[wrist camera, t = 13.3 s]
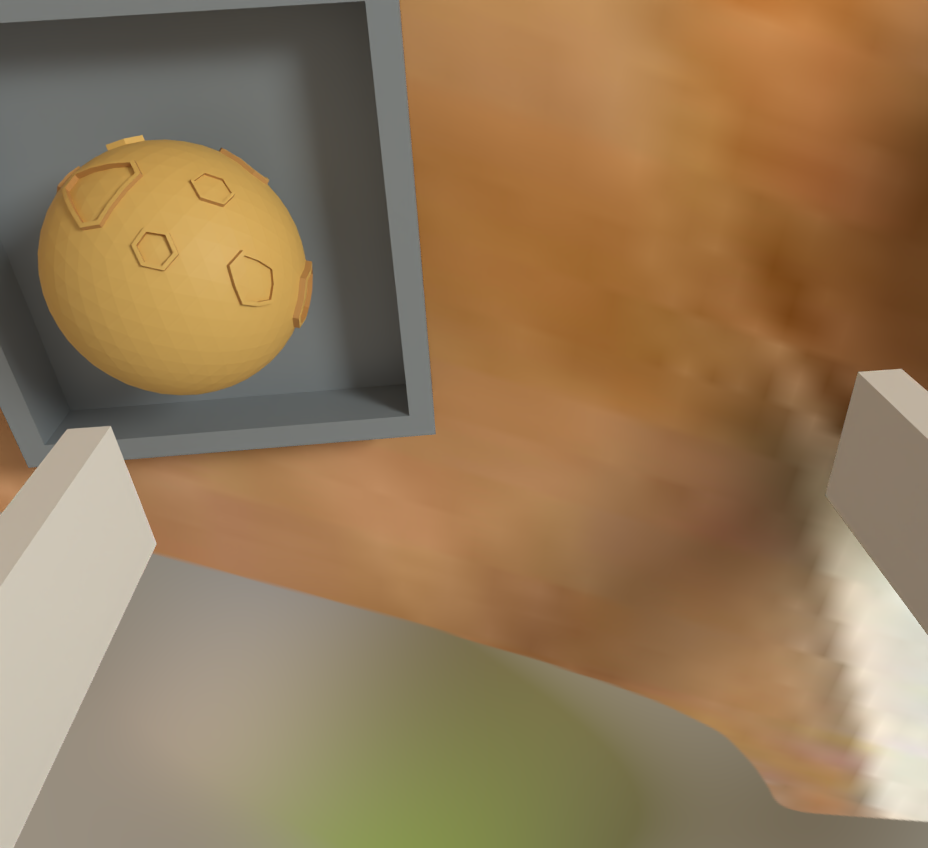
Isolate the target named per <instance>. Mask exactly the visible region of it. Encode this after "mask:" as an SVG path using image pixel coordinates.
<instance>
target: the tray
mask: <svg viewBox="0 0 928 848" xmlns="http://www.w3.org/2000/svg"><path fill="white" fill-rule="evenodd" d="M140 135H143V138H144V140H164V139H166V140H176V141H185V142H190V143H195V144H199V145H203V146H206V147H209V148H211V149H214V150H217V151H219V150H220V149H221V148H223V149H226V150H227V151H229V152H231V153H232V154H234V155H236V156H237V157H239V158H241V159H242V160H243V161H244V162H246V163H247V164H248V165H249V166H251V167H252V168H253V169H254V170H256V171H257V172H258V173H260V174H261V175H263V176H264V177H267V178H268V179H269V182H268V185H269V186H270V188H271V189H272V190H273V191H274V192H275V193H276V195H277V196H278V197H279V198H280V200H281V201H282V203H283V204H284V205H285V207H286V208H287V210H288V212H289V213H290V215H291V217H292V219H293V221H294V223H295V225H296V227H297V230H298V233H299V236H300V238H301V241H302V245H303V249H304V254H305V259H306V260H307V261H312V269H313V284H312V295H311V300H310V306H309V310H308V313H307V317H306V320H305V321H304V323H303V324H302V326H301V327H300V328H296V327H295V329H294V331H293V334H292V335H291V337H290V338H289V340H288V341H287V343H286V344H285V346H284V347H283V349H282V350H281V351H280V352H279V353H278V354H277V356H276V357H275V358H274V359H273V360H272V361H271V362H270V363H269V364H267V365H266V366H265V367H264V368H262V369H261V370H260V371H259V372H257V373H256V374H254V375H253V376H251V377H249V378H248V379H246V380H244V381H242V382H240V383H238V384H236V385H233V386H231V387H228V388H225V389H221V390H218V391H215V392H209V393H204V394H198V395H169V394H160V393H156V392H151V391H146V390H143V389H140V388H137V387H134V386H130V385H127V384H125V383H123V382H121V381H119V380H118V379H116V378H114V377H112V376H110V375H108V374H106V373H105V372H103V371H102V370H100V369H99V368H97V367H96V366H94V365H93V364H92V363H90V362H89V361H88V360H87V359H86V358H85V357H84V356H82V355H81V354H80V353H79V352H78V351H77V350H76V349H75V348H74V347H73V345H72V344H71V343H70V342H69V341H68V340H67V339H66V337H65V336H64V334H63V333H62V331H61V330H60V329H59V327H58V325H57V324H56V322H55V320H54V318H53V316H52V315H51V313H50V311H49V308H48V306H47V303H46V301H45V298H44V295H43V292H42V287H41V283H40V278H39V271H38V246H39V239H40V231H41V228H42V225H43V222H44V219H45V216H46V213H47V210H48V208H49V206H50V205H51V203H52V201H53V199H54V197H55V195H56V194H57V193H56V192H57V186H58V185H59V183H60V182H61V181H62V180H63V179H64V178H65V176H66V175H67V174H68V173H69V172H71V171H72V170H74V169H75V168H77V167H78V166H79V167H81V166H83V165H84V164H86V163H87V162H89V161H90V160H92V159H93V158H95V157H97V156H99V155H100V154H102V153H104V152H106V151H108V150H107V148H106V145H107V144H110V143H113V142H115V141H118V140H121V139H124V138H130V137H135V136H140ZM0 407H1V410H2V412H3V414H4V416H5V418H6V420H7V422H8V425H9V427H10V429H11V431H12V433H13V435H14V437H15V440H16V442H17V444H18V446H19V448H20V450H21V452H22V455H23V457H24V459H25V461H26V463H27V465H28V467H29V468H30V467H38V466H39V465H40V463H41V462H42V461H43V460H44V458H45V457H46V456H47V454H48V453H49V452H50V451H51V449H52V448H53V447H54V445H55V444H56V443H57V442H58V440H59V439H60V438H61V436H62V435H63V434H64V433H65V431H66V430H67V429H75V428H89V427H102V426H111V428H112V430H113V433H114V435H115V438H116V440H117V443H118V446H119V448H120V451H121V453H122V456H123V459H124V460H128V459H140V458H152V457H164V456H176V455H188V454H201V453H213V452H225V451H237V450H249V449H262V448H274V447H286V446H298V445H310V444H322V443H335V442H347V441H359V440H371V439H383V438H395V437H408V436H420V435H432V434H436V433H435V420H434V407H433V393H432V381H431V370H430V358H429V346H428V334H427V322H426V310H425V299H424V287H423V275H422V263H421V251H420V239H419V228H418V216H417V204H416V192H415V180H414V168H413V157H412V145H411V133H410V121H409V109H408V97H407V86H406V74H405V62H404V50H403V38H402V26H401V15H400V3H399V0H0Z"/></svg>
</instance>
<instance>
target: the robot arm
mask: <svg viewBox="0 0 928 848" xmlns="http://www.w3.org/2000/svg"><path fill="white" fill-rule="evenodd" d="M825 496H826V498H827V499H828V500H829V502H830V503H831V504H832V506H833V507H834V508H835V510H836V511H837V513H838V514H839V515H840V517H841V518H842V519H843V521H844V522H845V523H846V525H847V526H848V527H849V529H850V530H851V532H852V533H853V534H854V536H855V537H856V538H857V540H858V541H859V542H860V544H861V545H862V546H863V548H864V549H865V550H866V552H867V553H868V555H869V556H870V557H871V559H872V560H873V561H874V563H875V564H876V565H877V567H878V568H879V569H880V571H881V572H882V574H883V575H884V576H885V578H886V579H887V580H888V582H889V583H890V584H891V586H892V587H893V588H894V590H895V591H896V592H897V594H898V595H899V597H900V598H901V599H902V601H903V602H904V603H905V605H906V606H907V607H908V609H909V610H910V611H911V613H912V614H913V616H914V617H915V618H916V620H917V621H918V622H919V624H920V625H921V626H922V628H923V629H924V630H925V632H926V633H927V634H928V391H927V390H925V389H924V388H923V387H922V386H921V385H920V384H919V383H917V382H916V381H915V380H914V379H913V378H912V377H910V376H909V375H908V374H907V373H906V372H905V371H904V370H902V369H892V370H878V371H864V372H858V374H857V377H856V381H855V385H854V389H853V392H852V396H851V400H850V404H849V407H848V411H847V415H846V419H845V422H844V426H843V430H842V434H841V437H840V441H839V445H838V449H837V452H836V456H835V460H834V464H833V467H832V471H831V475H830V479H829V482H828V486H827V490H826V494H825ZM155 546H156V541H155V538H154V536H153V533H152V531H151V528H150V526H149V523H148V520H147V518H146V515H145V513H144V510H143V508H142V505H141V502H140V500H139V497H138V495H137V492H136V489H135V487H134V484H133V482H132V479H131V477H130V474H129V471H128V469H127V466H126V464H125V461H124V459H123V456H122V453H121V451H120V448H119V446H118V443H117V440H116V438H115V435H114V433H113V430H112V428H111V426H102V427H89V428H75V429H67V430H66V431H65V433H64V434H63V435H62V436H61V438H60V439H59V440H58V442H57V443H56V444H55V445H54V447H53V448H52V449H51V451H50V452H49V453H48V454H47V456H46V457H45V458H44V460H43V461H42V462H41V463H40V465H39V466H38V467H37V469H36V470H35V471H34V473H33V474H32V475H31V476H30V478H29V479H28V480H27V482H26V483H25V484H24V485H23V487H22V488H21V489H20V491H19V492H18V493H17V494H16V496H15V497H14V498H13V500H12V501H11V502H10V503H9V505H8V506H7V507H6V509H5V510H4V511H3V512H2V514H1V515H0V848H14V846H15V844H16V842H17V840H18V837H19V835H20V833H21V831H22V829H23V827H24V825H25V823H26V820H27V818H28V816H29V814H30V812H31V810H32V807H33V806H34V803H35V801H36V799H37V797H38V795H39V793H40V791H41V789H42V786H43V784H44V782H45V780H46V778H47V776H48V774H49V772H50V769H51V767H52V765H53V763H54V761H55V759H56V757H57V754H58V752H59V750H60V748H61V746H62V744H63V742H64V740H65V738H66V735H67V733H68V731H69V729H70V727H71V725H72V723H73V720H74V718H75V716H76V714H77V712H78V710H79V708H80V706H81V703H82V701H83V699H84V697H85V695H86V693H87V691H88V688H89V686H90V684H91V682H92V680H93V678H94V676H95V674H96V672H97V669H98V667H99V665H100V663H101V661H102V659H103V657H104V654H105V652H106V650H107V648H108V646H109V644H110V642H111V640H112V637H113V635H114V633H115V631H116V629H117V627H118V625H119V623H120V621H121V618H122V616H123V614H124V611H125V610H126V608H127V606H128V604H129V601H130V599H131V597H132V595H133V593H134V591H135V589H136V587H137V584H138V582H139V580H140V578H141V576H142V574H143V572H144V570H145V567H146V565H147V563H148V561H149V559H150V557H151V555H152V552H153V550H154V548H155Z"/></svg>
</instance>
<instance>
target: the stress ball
mask: <svg viewBox="0 0 928 848" xmlns="http://www.w3.org/2000/svg"><path fill="white" fill-rule="evenodd" d="M106 148H107V150H108V151H106V152H104V153H102V154H100V155H99V156H97V157H95V158H93V159H92V160H90V161H89V162H87V163H86V164H84V165H83V166H81V167H79V166H78V167H77V168H75V169H74V170H72V171H71V172H69V173H68V174H67V175H66V176H65V178H64V179H63V180H62V181H61V182H60V183H59V185H58V186H57V192H56V193H57V194H56V195H55V197H54V199H53V201H52V203H51V205H50V206H49V208H48V210H47V213H46V216H45V219H44V222H43V225H42V228H41V231H40V239H39V246H38V271H39V278H40V283H41V287H42V292H43V295H44V298H45V301H46V303H47V306H48V308H49V311H50V313H51V315H52V316H53V318H54V320H55V322H56V324H57V325H58V327H59V329H60V330H61V331H62V333H63V334H64V336H65V337H66V339H67V340H68V341H69V342H70V343H71V344H72V345H73V347H74V348H75V349H76V350H77V351H78V352H79V353H80V354H81V355H82V356H84V357H85V358H86V359H87V360H88V361H89V362H90V363H92V364H93V365H94V366H96V367H97V368H99V369H100V370H102V371H103V372H105V373H106V374H108V375H110V376H112V377H114V378H116V379H118V380H119V381H121V382H123V383H125V384H127V385H130V386H134V387H137V388H140V389H143V390H146V391H151V392H156V393H160V394H169V395H198V394H204V393H209V392H215V391H218V390H221V389H225V388H228V387H231V386H233V385H236V384H238V383H240V382H242V381H244V380H246V379H248V378H249V377H251V376H253V375H254V374H256V373H257V372H259V371H260V370H261V369H262V368H264V367H265V366H266V365H267V364H269V363H270V362H271V361H272V360H273V359H274V358H275V357H276V356H277V354H278V353H279V352H280V351H281V350H282V349H283V347H284V346H285V344H286V343H287V341H288V340H289V338H290V337H291V335H292V334H293V331H294V329H295V327H296V328H300V327H301V326H302V324H303V323H304V321H305V320H306V317H307V313H308V310H309V306H310V300H311V295H312V284H313V269H312V261H307V260H306V259H305V254H304V249H303V245H302V241H301V238H300V236H299V233H298V230H297V227H296V225H295V223H294V221H293V219H292V217H291V215H290V213H289V212H288V210H287V208H286V207H285V205H284V204H283V203H282V201H281V200H280V198H279V197H278V196H277V195H276V193H275V192H274V191H273V190H272V189H271V188H270V186H269V185H268V182H269V179H268V178H267V177H264V176H263V175H261V174H260V173H258V172H257V171H256V170H254V169H253V168H252V167H251V166H249V165H248V164H247V163H246V162H244V161H243V160H242V159H241V158H239V157H237V156H236V155H234V154H232V153H231V152H229V151H227V150H226V149H223V148H221V149H220V150H219V151H217V150H214V149H211V148H209V147H206V146H203V145H199V144H195V143H190V142H185V141H176V140H166V139H164V140H144V138H143V135H140V136H135V137H130V138H124V139H121V140H118V141H115V142H113V143H110V144H107V145H106Z"/></svg>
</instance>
